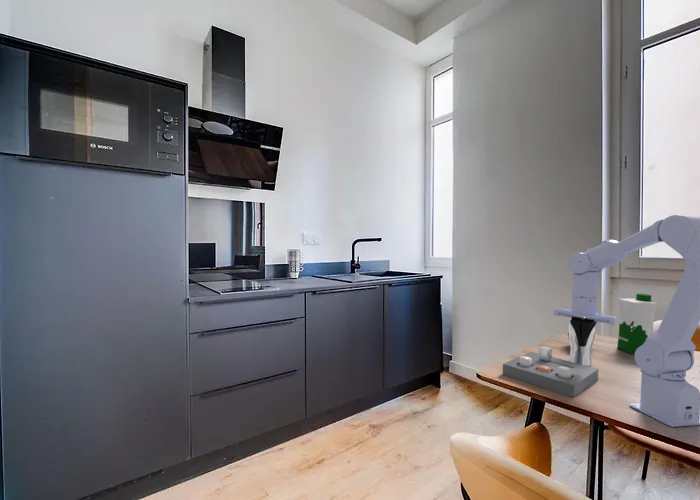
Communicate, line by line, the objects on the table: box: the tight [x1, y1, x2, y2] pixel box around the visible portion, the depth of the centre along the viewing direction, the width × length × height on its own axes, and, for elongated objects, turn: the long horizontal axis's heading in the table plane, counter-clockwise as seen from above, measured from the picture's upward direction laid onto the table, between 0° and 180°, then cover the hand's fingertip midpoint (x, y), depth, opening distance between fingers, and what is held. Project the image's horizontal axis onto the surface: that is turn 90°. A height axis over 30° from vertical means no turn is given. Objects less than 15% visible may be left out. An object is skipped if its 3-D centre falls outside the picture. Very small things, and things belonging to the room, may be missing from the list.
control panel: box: [502, 351, 599, 398], centre depth 100 cm, size 18×18×3 cm
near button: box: [558, 366, 571, 379], centre depth 93 cm, size 3×3×3 cm
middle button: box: [538, 365, 551, 373], centre depth 97 cm, size 3×3×3 cm
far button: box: [519, 355, 532, 367], centre depth 101 cm, size 3×3×3 cm
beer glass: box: [568, 317, 596, 367], centre depth 112 cm, size 7×7×15 cm
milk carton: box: [616, 293, 658, 355], centre depth 124 cm, size 9×9×20 cm
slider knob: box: [538, 345, 553, 361], centre depth 105 cm, size 2×3×3 cm
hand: (582, 345), depth 99 cm, fingers closed
